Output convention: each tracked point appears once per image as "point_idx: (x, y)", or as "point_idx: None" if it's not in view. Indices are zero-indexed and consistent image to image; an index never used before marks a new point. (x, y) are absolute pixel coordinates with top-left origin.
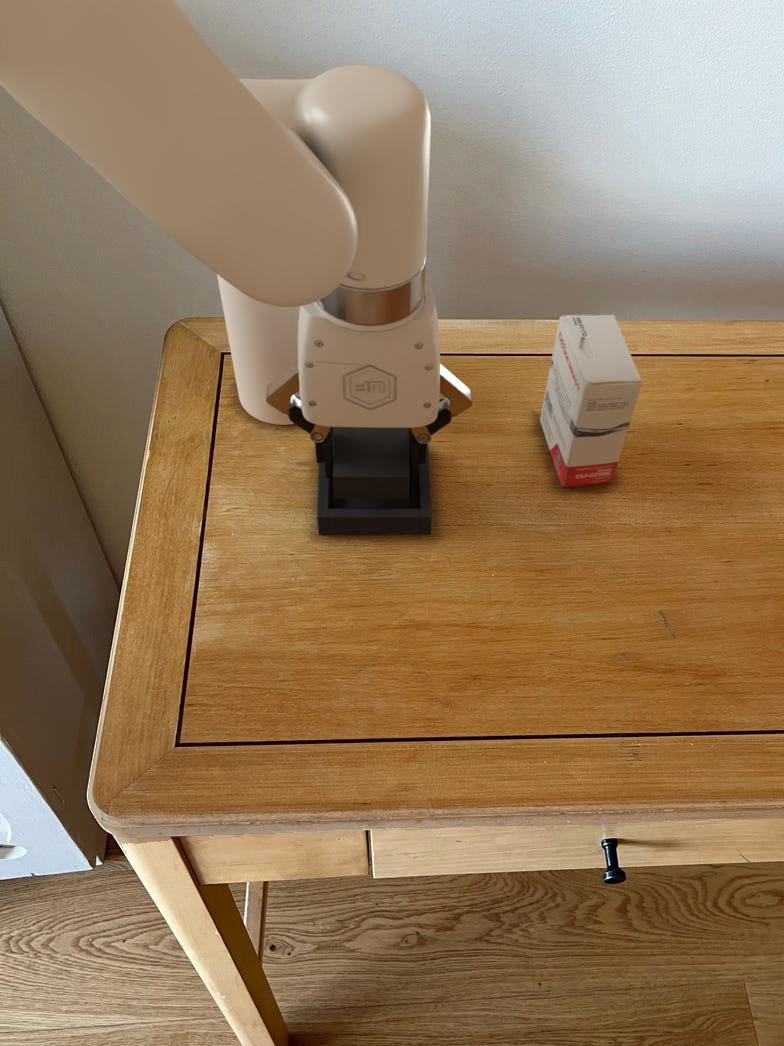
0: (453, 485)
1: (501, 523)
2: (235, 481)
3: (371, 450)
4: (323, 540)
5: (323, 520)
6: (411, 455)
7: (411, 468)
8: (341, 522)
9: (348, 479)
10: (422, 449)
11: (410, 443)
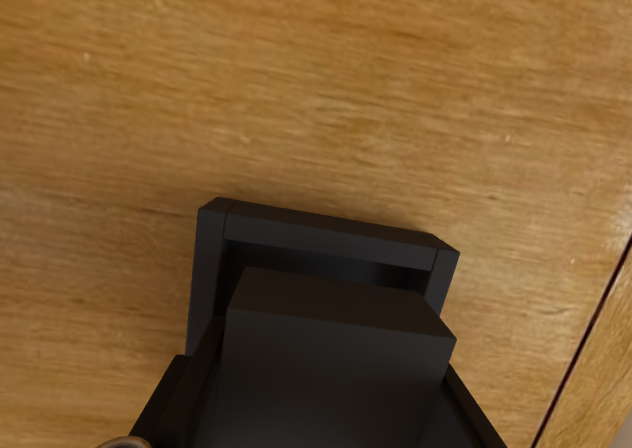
0: (153, 310)
1: (56, 201)
2: (531, 365)
3: (325, 413)
4: (427, 220)
5: (443, 246)
6: (203, 385)
7: (218, 342)
8: (403, 238)
9: (410, 326)
10: (160, 405)
11: (189, 440)
